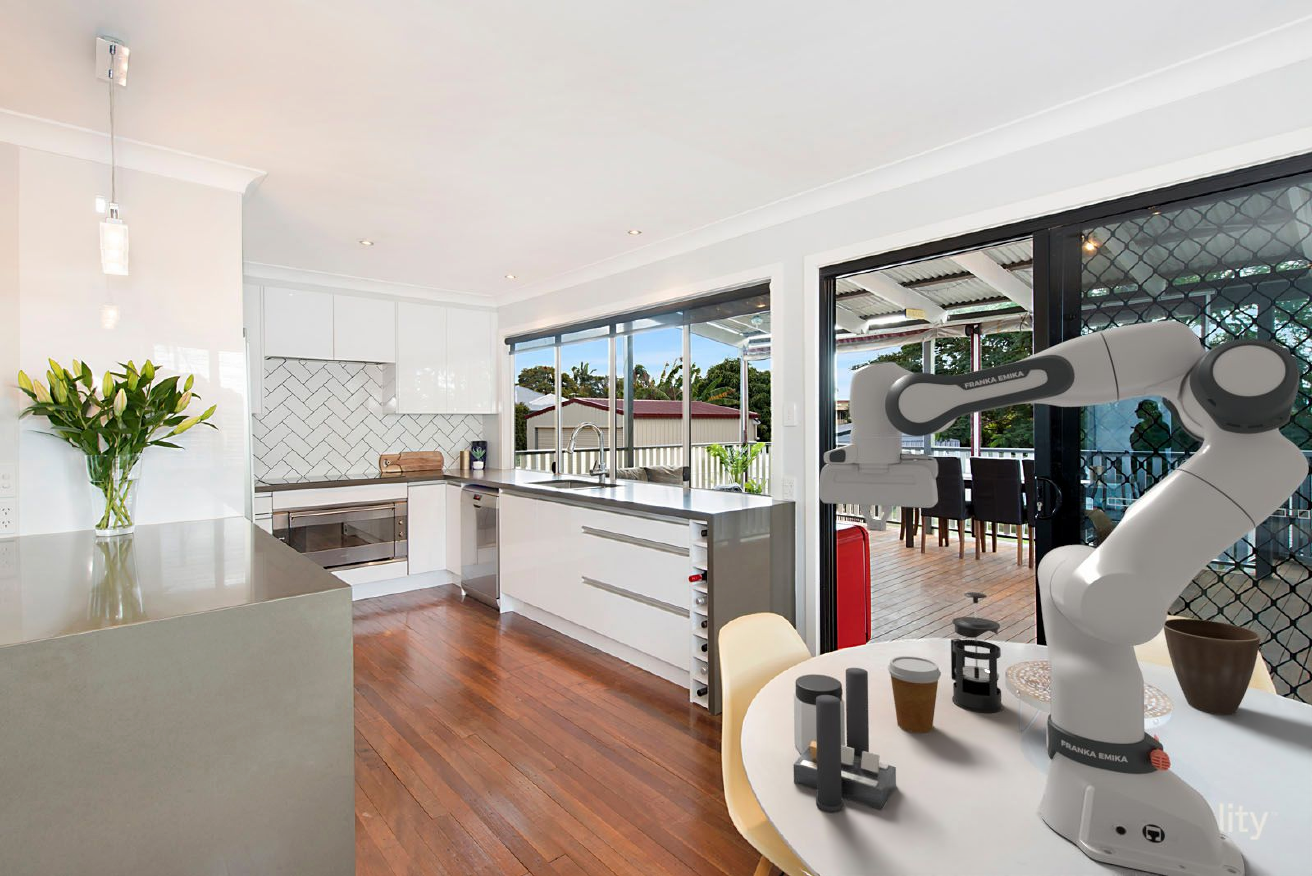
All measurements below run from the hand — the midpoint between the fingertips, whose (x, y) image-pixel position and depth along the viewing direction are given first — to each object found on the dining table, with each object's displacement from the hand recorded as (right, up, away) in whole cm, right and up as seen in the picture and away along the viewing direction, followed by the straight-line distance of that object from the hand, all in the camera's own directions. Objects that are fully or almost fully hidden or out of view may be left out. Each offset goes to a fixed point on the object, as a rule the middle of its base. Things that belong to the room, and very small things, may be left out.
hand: (876, 530), depth 114 cm
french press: (+27, -39, +19) cm, 51 cm away
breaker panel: (-9, -39, -12) cm, 42 cm away
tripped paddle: (-13, -36, -9) cm, 39 cm away
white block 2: (-6, -36, -14) cm, 39 cm away
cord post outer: (-13, -39, -17) cm, 45 cm away
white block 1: (-9, -36, -12) cm, 39 cm away
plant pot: (+73, -38, +15) cm, 84 cm away
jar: (-10, -40, 0) cm, 41 cm away
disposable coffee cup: (+10, -39, +9) cm, 42 cm away
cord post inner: (-5, -39, -6) cm, 40 cm away
